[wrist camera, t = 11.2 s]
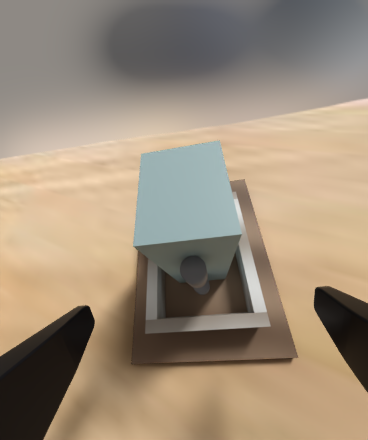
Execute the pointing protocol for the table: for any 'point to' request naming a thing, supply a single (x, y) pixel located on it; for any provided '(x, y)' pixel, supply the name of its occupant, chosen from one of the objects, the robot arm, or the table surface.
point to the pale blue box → (187, 214)
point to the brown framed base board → (214, 307)
